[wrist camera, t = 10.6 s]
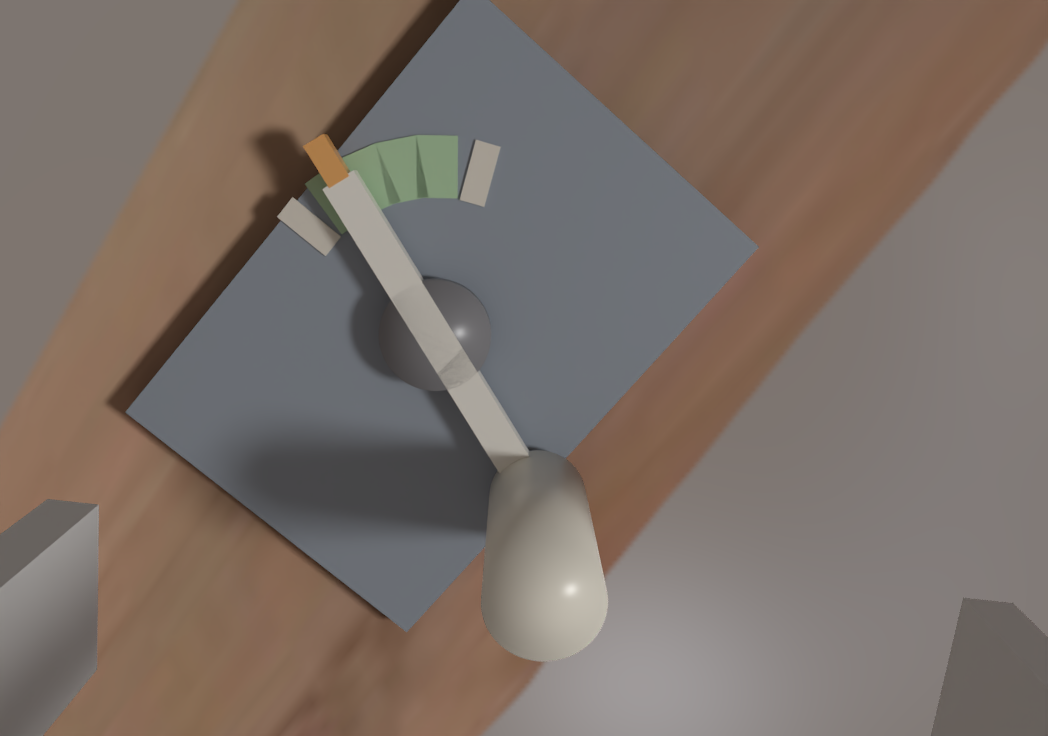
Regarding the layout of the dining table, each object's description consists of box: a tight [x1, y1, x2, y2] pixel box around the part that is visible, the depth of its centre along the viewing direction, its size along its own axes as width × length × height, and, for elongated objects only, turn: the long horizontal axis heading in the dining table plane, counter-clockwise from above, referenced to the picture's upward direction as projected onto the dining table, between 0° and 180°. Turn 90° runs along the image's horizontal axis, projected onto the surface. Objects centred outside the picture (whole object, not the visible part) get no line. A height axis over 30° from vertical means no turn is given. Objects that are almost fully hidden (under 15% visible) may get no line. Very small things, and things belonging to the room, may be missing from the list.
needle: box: [303, 134, 608, 661], centre depth 34 cm, size 19×4×10 cm, turn 31°
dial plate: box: [126, 0, 758, 632], centre depth 40 cm, size 22×15×1 cm
